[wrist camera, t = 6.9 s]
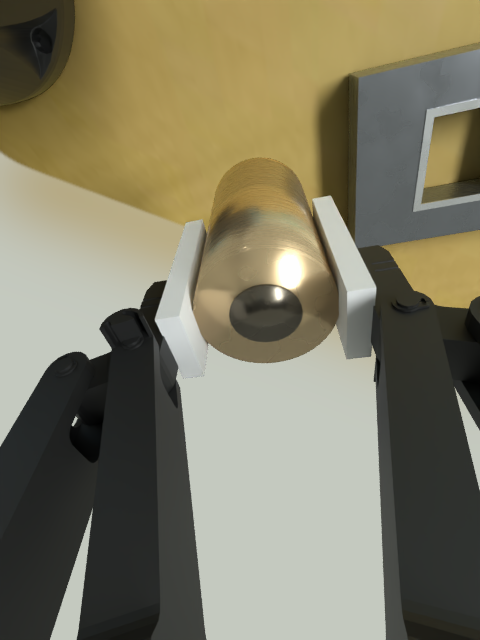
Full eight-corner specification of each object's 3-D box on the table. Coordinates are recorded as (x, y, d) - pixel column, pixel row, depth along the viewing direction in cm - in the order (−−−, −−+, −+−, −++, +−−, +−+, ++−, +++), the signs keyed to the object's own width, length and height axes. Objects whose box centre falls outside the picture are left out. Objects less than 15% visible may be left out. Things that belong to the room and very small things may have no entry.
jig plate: (349, 73, 26) (359, 77, 24) (612, 10, 23) (652, 8, 21) (347, 235, 35) (355, 250, 33) (538, 203, 32) (561, 217, 30)
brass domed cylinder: (203, 168, 17) (172, 265, 10) (300, 148, 16) (340, 237, 9) (225, 252, 20) (213, 371, 13) (307, 238, 19) (341, 356, 12)
